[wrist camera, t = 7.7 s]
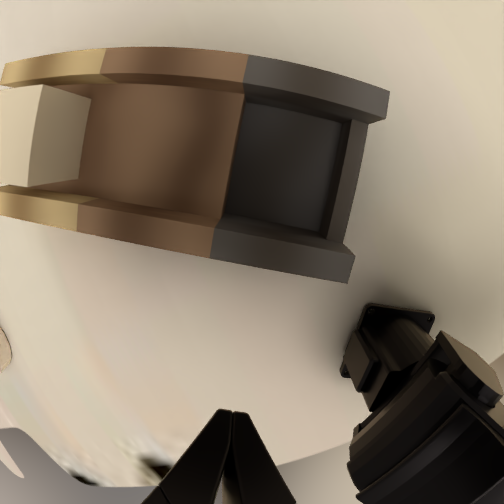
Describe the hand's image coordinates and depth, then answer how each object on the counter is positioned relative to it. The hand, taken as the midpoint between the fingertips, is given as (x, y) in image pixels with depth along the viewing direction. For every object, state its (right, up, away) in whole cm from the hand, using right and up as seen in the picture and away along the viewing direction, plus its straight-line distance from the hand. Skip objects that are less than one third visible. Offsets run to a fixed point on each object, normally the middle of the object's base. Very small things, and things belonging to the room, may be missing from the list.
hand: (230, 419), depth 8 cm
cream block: (-12, +12, +8) cm, 19 cm away
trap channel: (-5, +11, +10) cm, 16 cm away
